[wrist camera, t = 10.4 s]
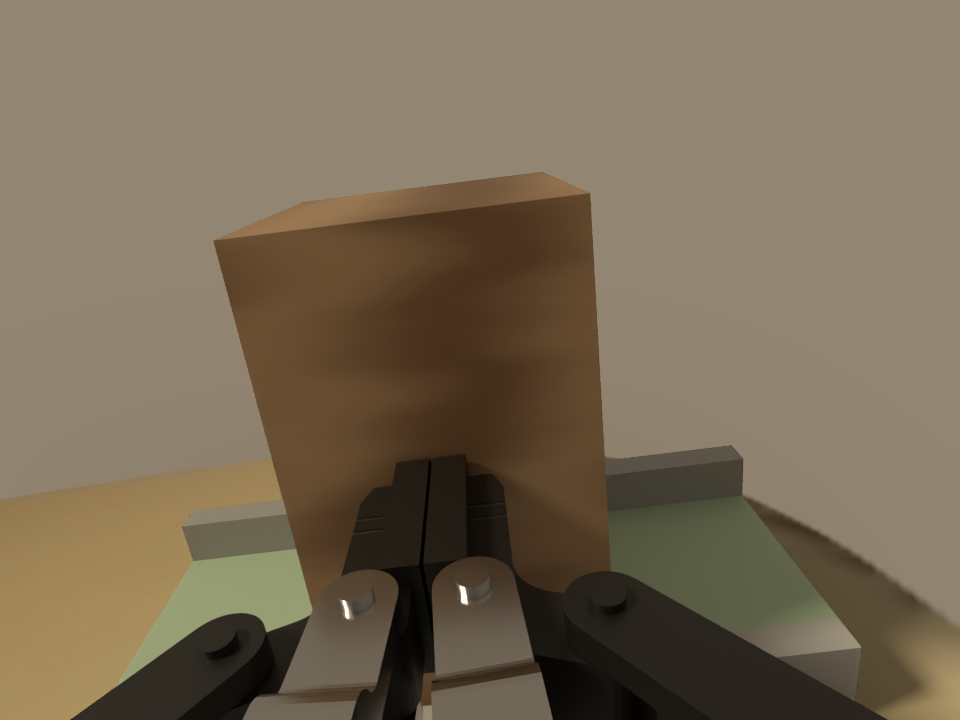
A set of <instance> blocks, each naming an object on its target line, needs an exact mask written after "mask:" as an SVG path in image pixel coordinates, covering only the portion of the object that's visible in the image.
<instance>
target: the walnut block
mask: <svg viewBox="0 0 960 720" xmlns="http://www.w3.org/2000/svg"><path fill="white" fill-rule="evenodd" d="M214 245H215V248H216V252H217V255H218V259H219V263H220V266H221V271H222V274H223V278H224V282H225V285H226V289H227V293H228V297H229V300H230V304H231V307H232V312H233V315H234V319H235V323H236V326H237V330H238V334H239V338H240V341H241V345H242V349H243V353H244V356H245V360H246V364H247V367H248V371H249V375H250V379H251V382H252V386H253V390H254V393H255V397H256V401H257V405H258V409H259V412H260V416H261V420H262V423H263V427H264V431H265V435H266V438H267V442H268V446H269V449H270V453H271V457H272V461H273V464H274V468H275V472H276V476H277V479H278V483H279V487H280V491H281V494H282V498H283V502H284V505H285V509H286V513H287V517H288V520H289V524H290V528H291V532H292V535H293V539H294V543H295V546H296V550H297V554H298V558H299V561H300V565H301V569H302V573H303V576H304V580H305V584H306V587H307V591H308V595H309V599H310V602H311V606H312V610H313V608H314V605H315V603H316V600H317V598H318V596H319V595H320V593H321V592H322V591H323V590H324V589H325V588H326V587H327V586H328V585H329V584H330V583H331V582H333V581H334V580H336V579H338V578H339V577H341V575H342V571H343V568H344V564H345V560H346V556H347V553H348V549H349V545H350V541H351V538H352V535H353V530H354V527H355V523H356V522H357V515H358V512H359V508H360V504H361V502H362V501H363V500H364V499H365V498H366V497H367V495H368V494H369V493H370V492H371V491H372V490H373V489H374V488H377V487H385V486H392V482H393V477H394V472H395V467H396V463H397V462H402V461H411V460H419V459H427V458H430V459H431V461H432V458H434V457H443V456H451V455H459V454H466V458H467V463H468V470H469V476H475V475H483V474H493V475H494V476H495V477H496V478H497V479H498V480H499V481H500V483H501V484H502V485H503V487H504V496H505V504H506V512H507V520H508V528H509V536H510V544H511V552H512V560H513V566H514V569H515V571H516V573H517V574H518V575H519V576H520V577H521V578H522V579H523V580H524V581H525V582H527V583H528V584H530V585H532V586H534V587H536V588H539V589H543V590H547V591H553V592H560V593H564V592H565V590H566V589H567V587H568V586H569V585H570V584H571V583H572V582H573V581H574V580H576V579H577V578H579V577H581V576H583V575H585V574H589V573H592V572H599V571H611V563H610V545H609V527H608V509H607V491H606V473H605V455H604V437H603V419H602V401H601V383H600V365H599V347H598V329H597V311H596V293H595V276H594V258H593V238H592V221H591V202H590V193H589V192H586V191H584V190H582V189H580V188H577V187H575V186H572V185H570V184H568V183H566V182H564V181H561V180H559V179H557V178H555V177H552V176H550V175H548V174H546V173H543V172H538V173H530V174H523V175H514V176H507V177H499V178H490V179H482V180H474V181H466V182H458V183H451V184H443V185H435V186H427V187H419V188H411V189H404V190H395V191H388V192H379V193H371V194H363V195H356V196H347V197H340V198H332V199H324V200H316V201H308V202H303V203H300V204H298V205H296V206H293V207H291V208H289V209H286V210H284V211H282V212H279V213H277V214H274V215H272V216H270V217H267V218H265V219H263V220H260V221H258V222H256V223H253V224H251V225H249V226H246V227H244V228H242V229H239V230H237V231H235V232H232V233H230V234H228V235H225V236H223V237H221V238H218V239H216V240H214ZM434 680H436V673H426V674H424V675H423V690H422V697H421V700H422V705H423V706H428V705H432V699H431V685H432V681H434Z"/></svg>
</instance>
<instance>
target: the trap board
mask: <svg viewBox="0 0 960 720" xmlns="http://www.w3.org/2000/svg"><path fill="white" fill-rule="evenodd" d="M605 473H606V491H607V509H608V527H609V545H610V563H611V571H612V572H619V573H623V574H626V575H629V576H631V577H633V578H635V579H637V580H639V581H641V582H643V583H644V584H646V585H648V586H650V587H652V588H653V589H655V590H657V591H659V592H660V593H662V594H664V595H666V596H668V597H669V598H671V599H673V600H675V601H677V602H678V603H680V604H682V605H684V606H685V607H687V608H689V609H691V610H693V611H694V612H696V613H698V614H700V615H702V616H703V617H705V618H707V619H709V620H710V621H712V622H714V623H716V624H718V625H719V626H721V627H723V628H725V629H727V630H728V631H730V632H732V633H734V634H735V635H737V636H739V637H741V638H743V639H744V640H746V641H748V642H750V643H752V644H753V645H755V646H757V647H759V648H760V649H762V650H764V651H766V652H768V653H769V654H771V655H773V656H775V657H777V658H778V659H780V660H782V661H784V662H785V663H787V664H789V665H791V666H793V667H794V668H796V669H798V670H800V671H802V672H803V673H805V674H807V675H809V676H810V677H812V678H814V679H816V680H818V681H819V682H821V683H823V684H825V685H827V686H828V687H830V688H832V689H834V690H835V691H837V692H839V693H841V694H843V695H844V696H846V697H848V698H850V699H852V700H853V701H855V698H856V690H857V682H858V674H859V666H860V658H861V650H862V647H861V646H860V645H859V643H858V642H857V641H856V640H855V638H854V637H853V636H852V634H851V633H850V632H849V631H848V629H847V628H846V627H845V626H844V624H843V623H842V622H841V620H840V619H839V618H838V617H837V615H836V614H835V613H834V612H833V610H832V609H831V608H830V606H829V605H828V604H827V603H826V601H825V600H824V599H823V598H822V596H821V595H820V594H819V592H818V591H817V590H816V589H815V587H814V586H813V585H812V584H811V582H810V581H809V580H808V579H807V577H806V576H805V575H804V573H803V572H802V571H801V570H800V568H799V567H798V566H797V565H796V563H795V562H794V561H793V559H792V558H791V557H790V556H789V554H788V553H787V552H786V551H785V549H784V548H783V547H782V545H781V544H780V543H779V542H778V540H777V539H776V538H775V537H774V535H773V534H772V533H771V531H770V530H769V529H768V528H767V526H766V525H765V524H764V523H763V521H762V520H761V519H760V517H759V516H758V515H757V514H756V512H755V511H754V510H753V509H752V507H751V506H750V505H749V504H748V502H747V501H746V500H745V498H744V497H743V496H742V481H743V458H742V457H741V456H740V455H739V453H738V452H737V451H736V450H735V449H734V448H733V447H732V445H731V446H723V447H714V448H706V449H697V450H689V451H681V452H673V453H665V454H656V455H648V456H640V457H631V458H623V459H615V460H606V461H605ZM182 529H183V532H184V535H185V538H186V540H187V543H188V546H189V549H190V552H191V555H192V558H193V563H192V565H191V566H190V568H189V569H188V571H187V573H186V574H185V576H184V577H183V579H182V581H181V582H180V584H179V585H178V587H177V589H176V590H175V592H174V593H173V595H172V597H171V598H170V600H169V601H168V603H167V605H166V606H165V608H164V609H163V611H162V613H161V614H160V616H159V617H158V619H157V621H156V622H155V624H154V625H153V627H152V629H151V630H150V632H149V633H148V635H147V637H146V638H145V640H144V641H143V643H142V645H141V646H140V648H139V649H138V651H137V653H136V654H135V656H134V657H133V659H132V661H131V662H130V664H129V665H128V667H127V669H126V670H125V672H124V673H123V675H122V677H121V678H120V680H119V682H118V683H117V685H116V686H118V685H119V684H121V683H122V682H123V681H125V680H126V679H128V678H129V677H130V676H132V675H133V674H135V673H136V672H137V671H139V670H140V669H141V668H143V667H144V666H146V665H147V664H148V663H150V662H151V661H153V660H154V659H155V658H157V657H158V656H160V655H161V654H162V653H164V652H165V651H166V650H168V649H169V648H171V647H172V646H173V645H175V644H176V643H178V642H179V641H180V640H182V639H183V638H184V637H186V636H187V635H189V634H190V633H191V632H193V631H194V630H196V629H197V628H199V627H200V626H202V625H203V624H205V623H207V622H209V621H211V620H213V619H216V618H218V617H221V616H224V615H228V614H233V613H248V614H252V615H255V616H257V617H258V618H260V619H261V620H262V622H263V623H264V626H265V629H266V632H269V631H271V630H274V629H277V628H280V627H283V626H285V625H288V624H291V623H294V622H296V621H299V620H301V619H304V618H305V617H307V616H309V615H311V613H312V606H311V602H310V599H309V595H308V591H307V587H306V584H305V580H304V576H303V573H302V569H301V565H300V561H299V558H298V554H297V550H296V546H295V543H294V539H293V535H292V532H291V528H290V524H289V520H288V517H287V513H286V509H285V505H284V502H283V500H276V501H268V502H259V503H251V504H243V505H235V506H226V507H218V508H210V509H202V510H193V512H192V513H191V514H190V516H189V517H188V519H187V520H186V521H185V523H184V524H183V526H182ZM116 686H115V687H116ZM423 711H424V712H423V720H432V705H428V706H423Z"/></svg>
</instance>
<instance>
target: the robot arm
mask: <svg viewBox="0 0 960 720" xmlns="http://www.w3.org/2000/svg"><path fill="white" fill-rule="evenodd" d="M426 673H436V680H434V681H432V685H431V699H432V720H887V719H886V718H884V717H882V716H880V715H878V714H877V713H875V712H873V711H871V710H869V709H868V708H866V707H864V706H862V705H861V704H859V703H857V702H855V701H853V700H852V699H850V698H848V697H846V696H844V695H843V694H841V693H839V692H837V691H835V690H834V689H832V688H830V687H828V686H827V685H825V684H823V683H821V682H819V681H818V680H816V679H814V678H812V677H810V676H809V675H807V674H805V673H803V672H802V671H800V670H798V669H796V668H794V667H793V666H791V665H789V664H787V663H785V662H784V661H782V660H780V659H778V658H777V657H775V656H773V655H771V654H769V653H768V652H766V651H764V650H762V649H760V648H759V647H757V646H755V645H753V644H752V643H750V642H748V641H746V640H744V639H743V638H741V637H739V636H737V635H735V634H734V633H732V632H730V631H728V630H727V629H725V628H723V627H721V626H719V625H718V624H716V623H714V622H712V621H710V620H709V619H707V618H705V617H703V616H702V615H700V614H698V613H696V612H694V611H693V610H691V609H689V608H687V607H685V606H684V605H682V604H680V603H678V602H677V601H675V600H673V599H671V598H669V597H668V596H666V595H664V594H662V593H660V592H659V591H657V590H655V589H653V588H652V587H650V586H648V585H646V584H644V583H643V582H641V581H639V580H637V579H635V578H633V577H631V576H629V575H626V574H623V573H619V572H612V571H599V572H592V573H589V574H585V575H583V576H581V577H579V578H577V579H576V580H574V581H573V582H572V583H571V584H570V585H569V586H568V587H567V589H566V590H565V592H564V593H560V592H553V591H547V590H543V589H539V588H536V587H534V586H532V585H530V584H528V583H527V582H525V581H524V580H523V579H522V578H521V577H520V576H519V575H518V574H517V573H516V571H515V569H514V566H513V560H512V552H511V544H510V536H509V528H508V520H507V512H506V504H505V496H504V487H503V485H502V484H501V483H500V481H499V480H498V479H497V478H496V477H495V476H494V475H493V474H483V475H475V476H469V470H468V463H467V458H466V454H459V455H451V456H443V457H434V458H432V461H431V459H430V458H427V459H419V460H411V461H402V462H397V463H396V467H395V472H394V477H393V482H392V486H385V487H377V488H374V489H373V490H372V491H371V492H370V493H369V494H368V495H367V497H366V498H365V499H364V500H363V501H362V502H361V504H360V508H359V512H358V515H357V522H356V523H355V527H354V530H353V535H352V538H351V541H350V545H349V549H348V553H347V556H346V560H345V564H344V568H343V571H342V575H341V577H339V578H338V579H336V580H334V581H333V582H331V583H330V584H329V585H328V586H327V587H326V588H325V589H324V590H323V591H322V592H321V593H320V595H319V596H318V598H317V600H316V603H315V605H314V608H313V610H312V613H311V615H309V616H307V617H305V618H304V619H301V620H299V621H296V622H294V623H291V624H288V625H285V626H283V627H280V628H277V629H274V630H271V631H269V632H266V629H265V626H264V623H263V622H262V620H261V619H260V618H258V617H257V616H255V615H252V614H248V613H233V614H228V615H224V616H221V617H218V618H216V619H213V620H211V621H209V622H207V623H205V624H203V625H202V626H200V627H199V628H197V629H196V630H194V631H193V632H191V633H190V634H189V635H187V636H186V637H184V638H183V639H182V640H180V641H179V642H178V643H176V644H175V645H173V646H172V647H171V648H169V649H168V650H166V651H165V652H164V653H162V654H161V655H160V656H158V657H157V658H155V659H154V660H153V661H151V662H150V663H148V664H147V665H146V666H144V667H143V668H141V669H140V670H139V671H137V672H136V673H135V674H133V675H132V676H130V677H129V678H128V679H126V680H125V681H123V682H122V683H121V684H119V685H118V686H116V687H115V688H114V689H112V690H111V691H110V692H108V693H107V694H105V695H104V696H103V697H101V698H100V699H98V700H97V701H96V702H94V703H93V704H92V705H90V706H89V707H87V708H86V709H85V710H83V711H82V712H80V713H79V714H78V715H76V716H75V717H73V718H72V719H71V720H423V712H424V711H423V705H422V700H421V697H422V690H423V675H424V674H426Z"/></svg>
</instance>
